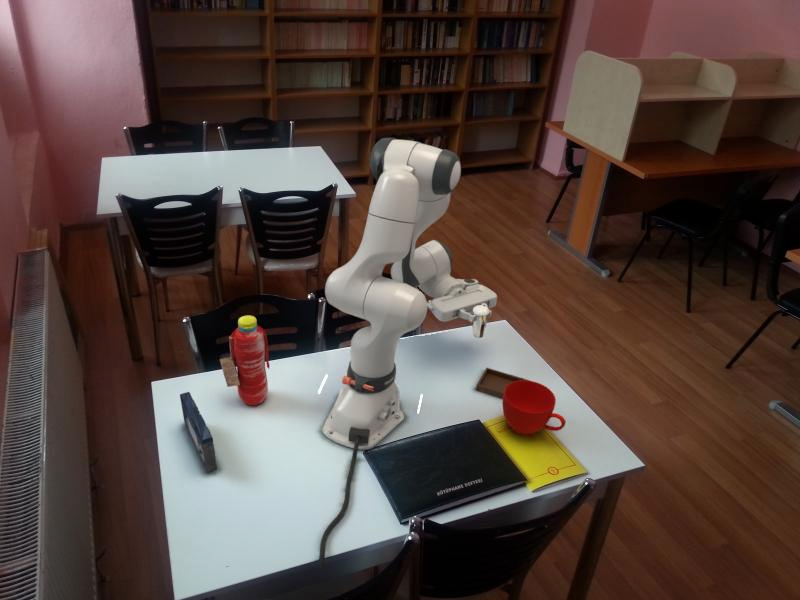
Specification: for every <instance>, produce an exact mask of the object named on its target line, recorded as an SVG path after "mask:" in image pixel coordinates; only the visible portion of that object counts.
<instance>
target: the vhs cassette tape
mask: <svg viewBox="0 0 800 600" xmlns="http://www.w3.org/2000/svg"><path fill="white" fill-rule="evenodd" d="M179 399H180V405H181V410H182V416H183V422H184V426H185V429H186V431H187V433H188V435H189V438H190V440H191V442H192V444H193V446H194V448H195V450H196V453H197V455H198V458H199V460H200V462H201V464H202V466H203V468H204V470H205V472H206V473H210V472H213V471H215V470H218V465H217V458H216V457H217V456H216V451H215V444H214V437H213V435H212V433H211V431H210V429H209V427H208V425H207V423H206V421H205V419H204V417H203V415H202V414H201V412H200V410H199V407H198V406H197V403H196V402H195V400H194V398H193V396H192V394H191V393H190V391H187V392H183V393H180V394H179Z"/></svg>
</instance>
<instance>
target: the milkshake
mask: <svg viewBox="0 0 800 600" xmlns="http://www.w3.org/2000/svg"><path fill="white" fill-rule="evenodd" d="M472 310H473V314H474V315H475V316H476V317H477V318H476V321H474V322H472V332H471V333H472V337H474V338H477V339H481V338H484V337H485V333H486V328H487V323H488V319H489V317H488V315H489V310H490V308H487V307H485V306H483V305H477V306H475V307H474V308H472Z"/></svg>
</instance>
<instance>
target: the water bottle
mask: <svg viewBox="0 0 800 600" xmlns="http://www.w3.org/2000/svg"><path fill="white" fill-rule="evenodd" d="M257 322H258V320H257V318H256V317H255V316H254V315H244V316H241V317H239V318H238V320H237V325H238V326H237V328H236V329H235V330H234V331H233V332H232V333H231V335H230V336H229V337H228V339H229V343H228V344H229V354H230V356H228V357H223V358H220V359H219V362H220V366H221V369H222V374H223V376H224V380H225V383H226V387H227V388H230V387H237V393H238V394H237V395H238V396H239V398H240V400H241V401H242V402H243V403H244V404H246V405H248V406H257V405H260V404H262V403H263V402H264V401H265V400H266V398H267V395H268V391H269V383H268V382H269V381H268V376H267V370H266V369H270V362H269V358H270V356H269V355H270V354H269V343H268V338H267V333H266V331H265V329H264V328H263V327H262V326H259V325H258V323H257ZM235 362H236V363H235Z"/></svg>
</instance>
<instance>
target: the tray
mask: <svg viewBox="0 0 800 600" xmlns="http://www.w3.org/2000/svg"><path fill="white" fill-rule="evenodd" d="M519 380H528V381H531V380H530V379H527V378H523V377H519V376H516V375H512V374H510V373H507V372H503V371H500V370H496V369H492V368H490V367H485V369H484V371H483V373H482V375H481V376H480V378H479V381H478V382H477V383H476V388H475V390H476V391H478V392H481V393H484V394H488V395H491V396H494V397H497V398H501V399H503V394H504V390H505V388H506V386H507V385H508V384H510V383H512V382H514V381H519Z"/></svg>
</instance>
